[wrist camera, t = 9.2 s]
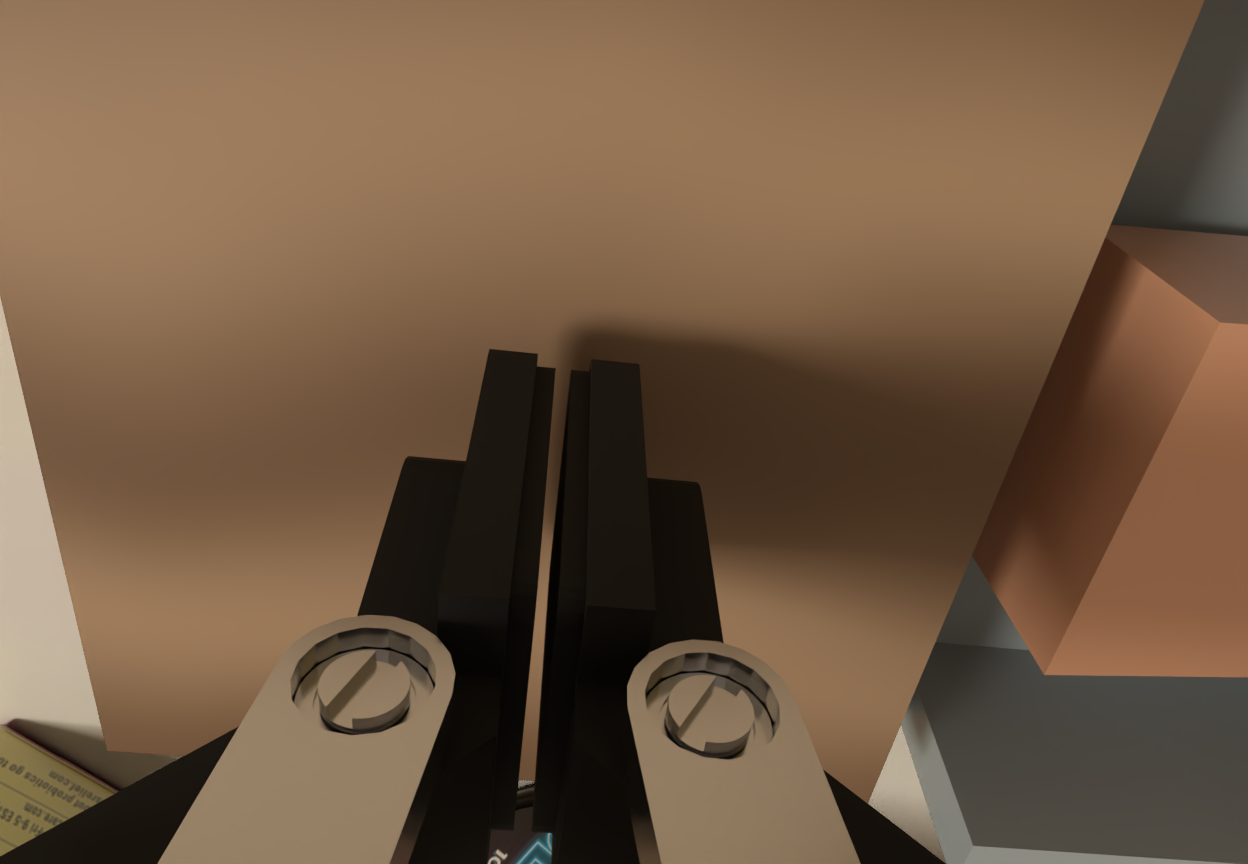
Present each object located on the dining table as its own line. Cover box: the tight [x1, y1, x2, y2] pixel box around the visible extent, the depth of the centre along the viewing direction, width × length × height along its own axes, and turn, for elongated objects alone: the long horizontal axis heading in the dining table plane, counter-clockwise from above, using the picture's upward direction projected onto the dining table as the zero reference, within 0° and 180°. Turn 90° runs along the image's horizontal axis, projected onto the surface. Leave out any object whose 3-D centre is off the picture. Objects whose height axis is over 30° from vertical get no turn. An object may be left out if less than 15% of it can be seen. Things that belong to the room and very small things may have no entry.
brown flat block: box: [0, 0, 1205, 804], centre depth 14 cm, size 13×12×4 cm
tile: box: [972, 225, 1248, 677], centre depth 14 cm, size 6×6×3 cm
